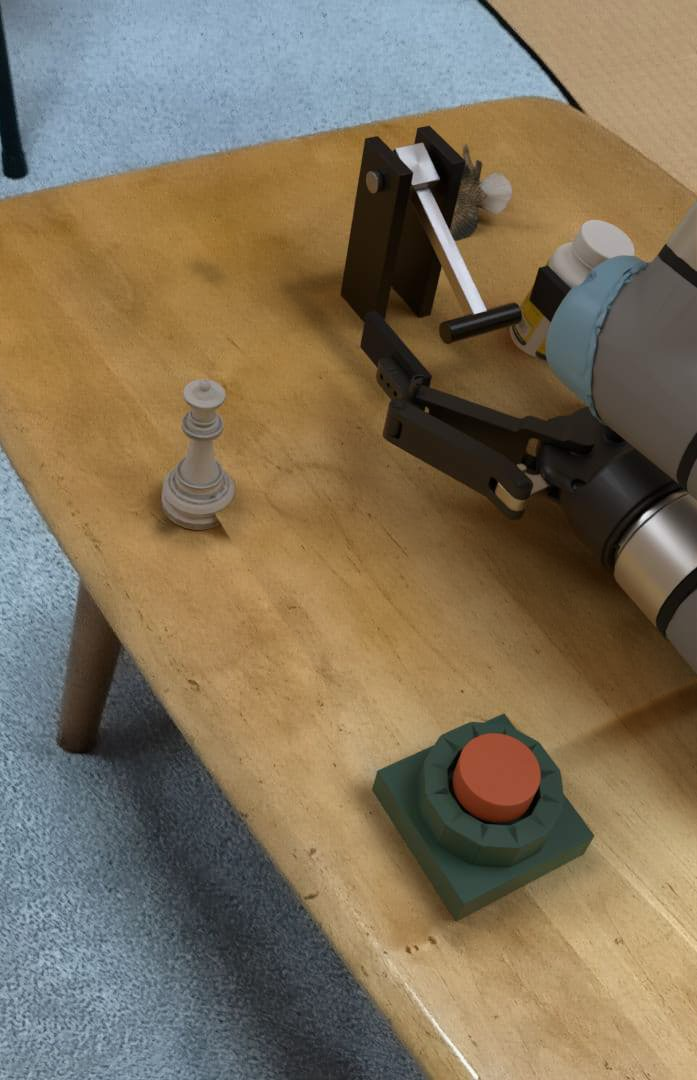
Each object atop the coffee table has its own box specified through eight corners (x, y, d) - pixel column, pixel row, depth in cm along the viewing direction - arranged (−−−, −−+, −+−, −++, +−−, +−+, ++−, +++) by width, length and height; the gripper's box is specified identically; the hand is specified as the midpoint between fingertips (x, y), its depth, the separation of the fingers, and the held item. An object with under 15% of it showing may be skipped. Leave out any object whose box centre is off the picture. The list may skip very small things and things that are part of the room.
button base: (496, 732, 67) (513, 691, 64) (584, 854, 63) (607, 816, 60) (370, 790, 64) (382, 749, 61) (455, 922, 60) (472, 885, 57)
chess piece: (156, 480, 76) (159, 356, 69) (227, 475, 77) (238, 352, 70) (166, 534, 73) (170, 410, 66) (239, 528, 74) (251, 406, 67)
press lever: (511, 331, 81) (528, 314, 79) (442, 351, 78) (457, 334, 76) (429, 158, 83) (444, 137, 81) (359, 173, 80) (372, 152, 78)
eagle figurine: (433, 169, 101) (357, 183, 95) (493, 123, 96) (415, 135, 90) (472, 254, 101) (399, 274, 95) (534, 213, 96) (459, 231, 90)
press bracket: (473, 357, 88) (519, 189, 78) (378, 385, 84) (412, 214, 74) (386, 259, 94) (417, 92, 84) (294, 282, 91) (315, 111, 80)
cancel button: (502, 739, 63) (510, 720, 61) (548, 803, 61) (557, 785, 59) (436, 770, 61) (443, 751, 60) (482, 836, 59) (489, 818, 58)
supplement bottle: (587, 352, 90) (658, 252, 83) (551, 382, 87) (621, 279, 79) (531, 306, 91) (596, 202, 84) (493, 333, 88) (557, 227, 80)
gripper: (466, 645, 67) (282, 396, 78) (792, 512, 77) (588, 308, 88) (497, 556, 61) (294, 301, 72) (844, 425, 72) (619, 219, 83)
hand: (455, 304), depth 80 cm, fingers open, 13 cm apart
